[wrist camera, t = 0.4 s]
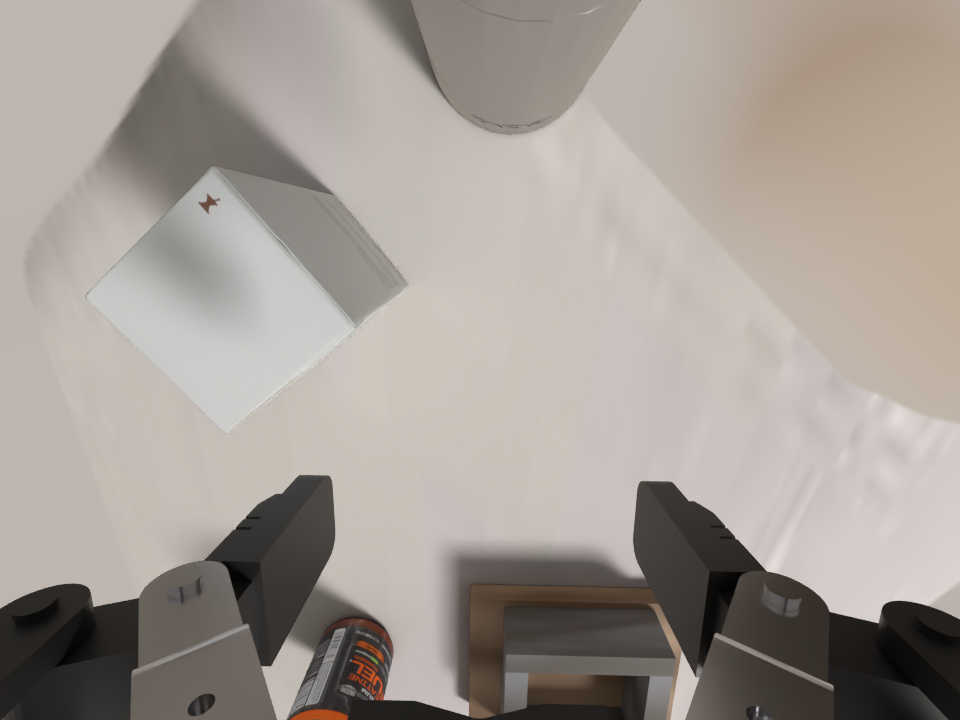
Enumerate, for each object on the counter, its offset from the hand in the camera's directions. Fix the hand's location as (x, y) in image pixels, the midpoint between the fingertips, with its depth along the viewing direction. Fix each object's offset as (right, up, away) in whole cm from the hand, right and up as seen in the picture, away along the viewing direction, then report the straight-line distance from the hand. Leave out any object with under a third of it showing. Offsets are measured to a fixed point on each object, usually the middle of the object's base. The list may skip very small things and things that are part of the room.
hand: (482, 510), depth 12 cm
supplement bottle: (-10, -19, +25) cm, 33 cm away
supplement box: (-9, +9, +17) cm, 22 cm away
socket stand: (+7, -19, +24) cm, 32 cm away
